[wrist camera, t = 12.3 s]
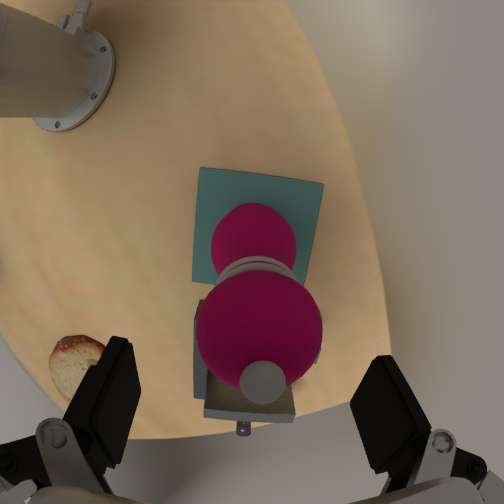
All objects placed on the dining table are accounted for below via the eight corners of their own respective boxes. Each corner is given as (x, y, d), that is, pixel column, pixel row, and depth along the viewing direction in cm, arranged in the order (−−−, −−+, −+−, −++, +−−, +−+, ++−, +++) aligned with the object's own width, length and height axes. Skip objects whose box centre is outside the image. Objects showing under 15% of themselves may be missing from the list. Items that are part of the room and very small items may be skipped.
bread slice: (74, 403, 41) (68, 416, 37) (28, 332, 34) (17, 345, 31) (149, 412, 40) (144, 428, 36) (103, 332, 34) (92, 348, 30)
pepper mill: (281, 271, 29) (323, 444, 11) (212, 261, 29) (168, 434, 10) (295, 203, 27) (391, 327, 8) (221, 192, 26) (161, 303, 7)
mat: (200, 167, 26) (200, 167, 25) (322, 183, 27) (323, 184, 26) (192, 279, 30) (191, 281, 30) (300, 290, 31) (301, 293, 30)
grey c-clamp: (199, 299, 31) (189, 337, 24) (308, 310, 32) (321, 348, 25) (197, 403, 38) (191, 439, 31) (277, 410, 39) (281, 445, 32)
